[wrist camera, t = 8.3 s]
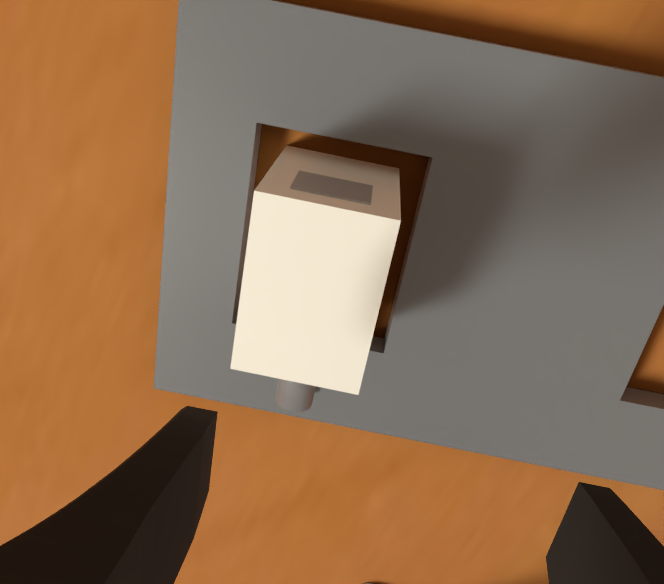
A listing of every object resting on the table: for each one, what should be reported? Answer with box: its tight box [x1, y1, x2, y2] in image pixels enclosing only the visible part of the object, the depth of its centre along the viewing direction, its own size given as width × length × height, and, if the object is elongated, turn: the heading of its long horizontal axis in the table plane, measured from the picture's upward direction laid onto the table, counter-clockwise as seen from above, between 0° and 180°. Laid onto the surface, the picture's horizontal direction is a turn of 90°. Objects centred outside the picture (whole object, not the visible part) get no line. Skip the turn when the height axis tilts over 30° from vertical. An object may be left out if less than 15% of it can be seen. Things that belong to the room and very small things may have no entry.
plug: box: [230, 145, 401, 412], centre depth 19 cm, size 7×4×5 cm, turn 170°
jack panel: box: [154, 0, 664, 490], centre depth 20 cm, size 13×24×1 cm, turn 80°
